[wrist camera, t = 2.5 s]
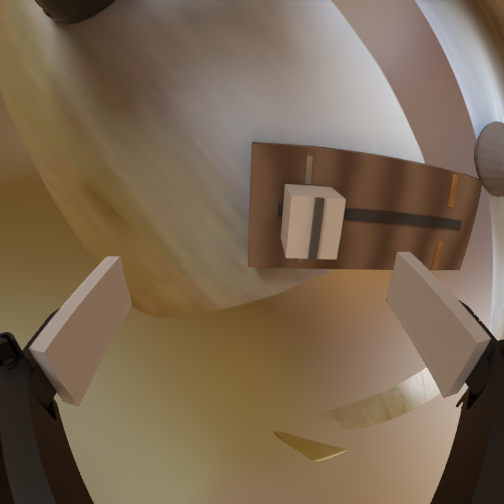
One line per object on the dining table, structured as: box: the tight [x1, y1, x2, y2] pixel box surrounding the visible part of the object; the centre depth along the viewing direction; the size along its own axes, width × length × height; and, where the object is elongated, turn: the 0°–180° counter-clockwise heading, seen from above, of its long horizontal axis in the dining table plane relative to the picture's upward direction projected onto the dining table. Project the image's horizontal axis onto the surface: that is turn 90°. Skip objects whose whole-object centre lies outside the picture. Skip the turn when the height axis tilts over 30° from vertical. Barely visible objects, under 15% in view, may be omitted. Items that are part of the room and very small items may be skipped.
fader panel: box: [248, 142, 483, 270], centre depth 31 cm, size 32×14×3 cm, turn 88°
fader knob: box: [281, 184, 346, 261], centre depth 27 cm, size 5×6×5 cm
